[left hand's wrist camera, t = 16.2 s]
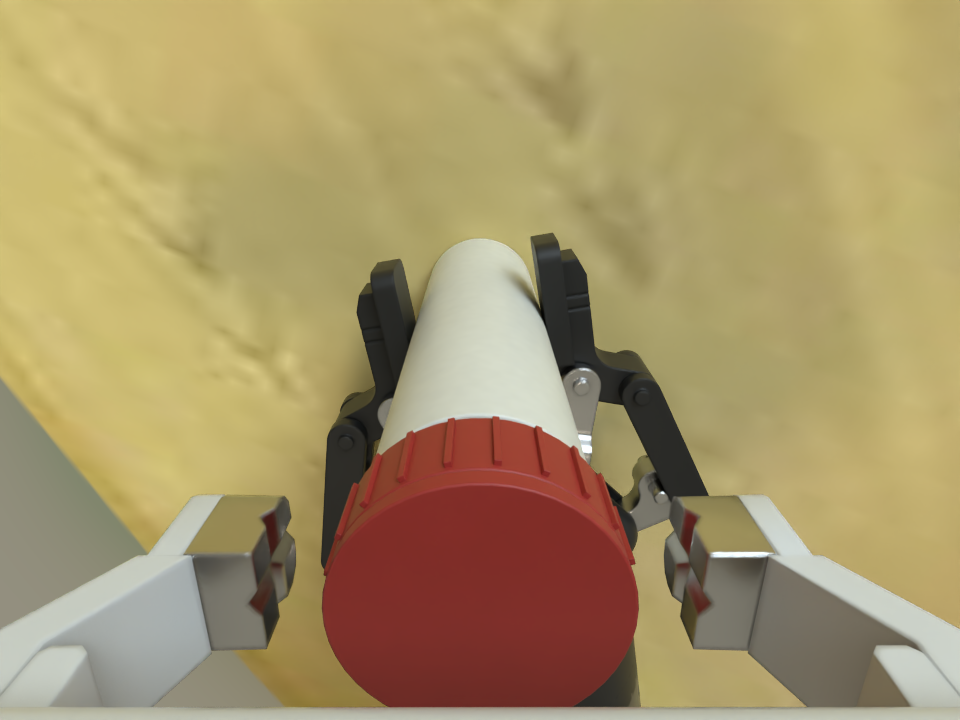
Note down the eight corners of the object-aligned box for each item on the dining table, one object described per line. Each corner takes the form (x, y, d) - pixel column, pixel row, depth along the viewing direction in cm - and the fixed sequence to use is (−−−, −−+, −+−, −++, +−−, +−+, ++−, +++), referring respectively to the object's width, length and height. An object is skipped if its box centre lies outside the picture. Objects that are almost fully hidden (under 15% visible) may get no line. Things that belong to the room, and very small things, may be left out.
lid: (468, 677, 12) (466, 776, 10) (285, 524, 10) (246, 606, 9) (670, 545, 11) (708, 631, 9) (494, 355, 9) (497, 411, 8)
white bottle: (413, 313, 25) (306, 637, 10) (453, 220, 24) (404, 423, 8) (504, 352, 26) (541, 715, 10) (548, 264, 25) (668, 528, 9)
